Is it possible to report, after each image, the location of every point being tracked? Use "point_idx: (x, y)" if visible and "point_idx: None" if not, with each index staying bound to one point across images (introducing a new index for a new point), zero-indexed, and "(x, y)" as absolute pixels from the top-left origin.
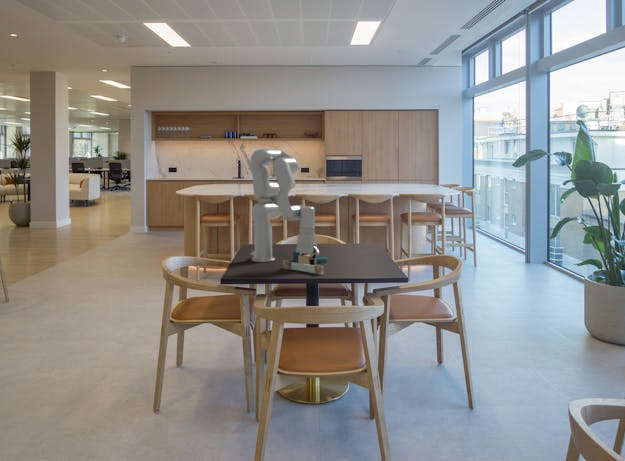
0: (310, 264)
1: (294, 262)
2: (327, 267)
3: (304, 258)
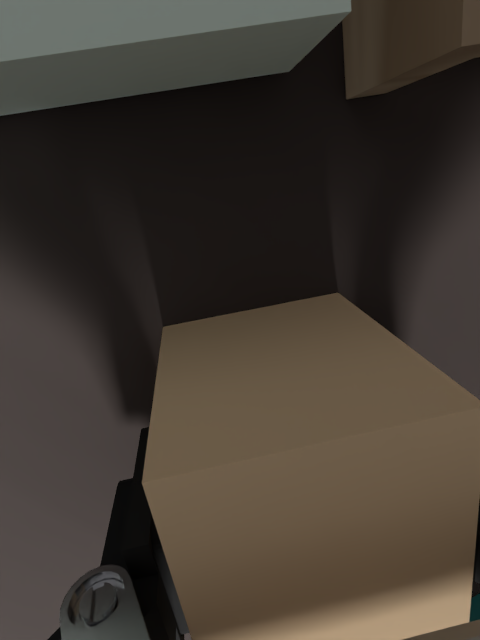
0: (142, 455)
1: (246, 7)
2: None
3: (206, 439)
